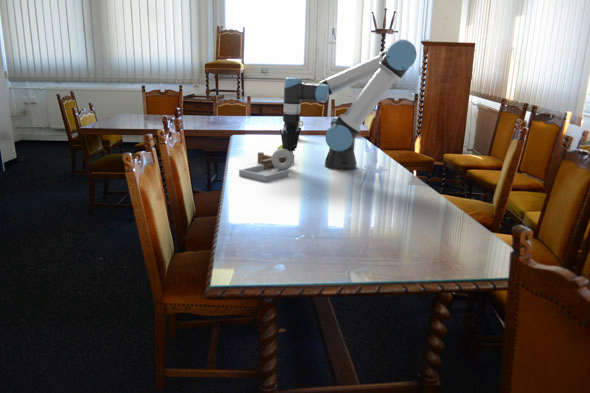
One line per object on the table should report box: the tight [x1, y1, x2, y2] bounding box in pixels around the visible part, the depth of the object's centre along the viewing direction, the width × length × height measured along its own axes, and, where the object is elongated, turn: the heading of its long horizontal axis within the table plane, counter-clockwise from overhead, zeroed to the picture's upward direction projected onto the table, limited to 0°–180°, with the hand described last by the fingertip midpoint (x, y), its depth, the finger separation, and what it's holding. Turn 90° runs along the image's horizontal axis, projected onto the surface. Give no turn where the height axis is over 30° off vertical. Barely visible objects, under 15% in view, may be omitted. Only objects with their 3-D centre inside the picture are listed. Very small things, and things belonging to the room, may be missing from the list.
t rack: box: [257, 151, 295, 170], centre depth 228 cm, size 12×22×5 cm, turn 143°
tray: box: [238, 164, 289, 183], centre depth 205 cm, size 15×15×2 cm
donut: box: [271, 148, 295, 171], centre depth 215 cm, size 10×4×10 cm, turn 91°
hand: (288, 164), depth 220 cm, fingers closed
